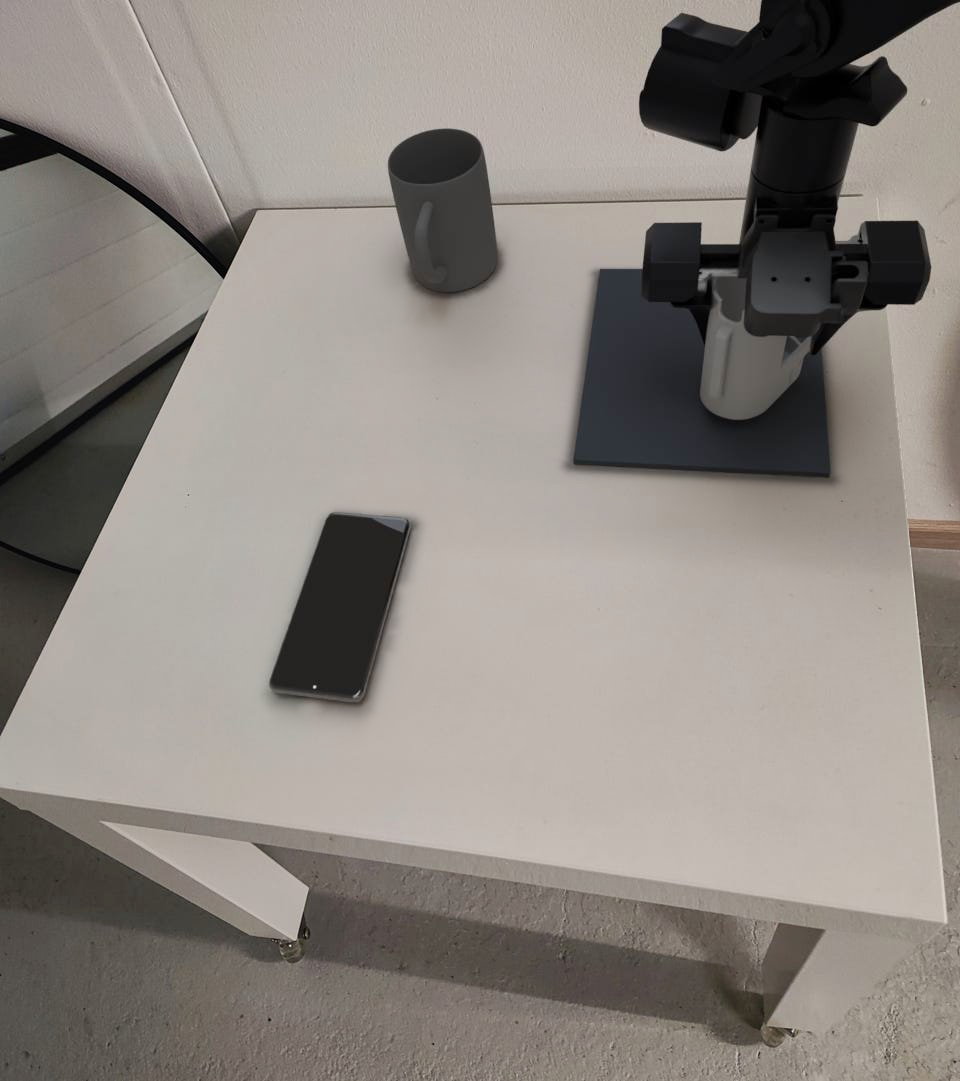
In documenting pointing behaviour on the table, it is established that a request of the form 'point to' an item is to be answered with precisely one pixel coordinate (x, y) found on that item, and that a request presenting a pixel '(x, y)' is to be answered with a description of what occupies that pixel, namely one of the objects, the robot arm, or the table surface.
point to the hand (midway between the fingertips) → (759, 350)
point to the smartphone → (341, 608)
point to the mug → (444, 208)
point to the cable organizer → (744, 358)
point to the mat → (683, 397)
